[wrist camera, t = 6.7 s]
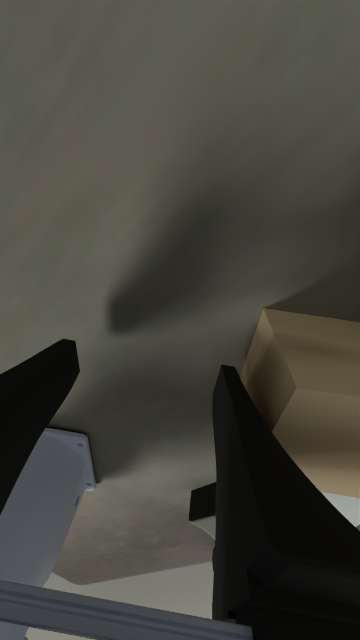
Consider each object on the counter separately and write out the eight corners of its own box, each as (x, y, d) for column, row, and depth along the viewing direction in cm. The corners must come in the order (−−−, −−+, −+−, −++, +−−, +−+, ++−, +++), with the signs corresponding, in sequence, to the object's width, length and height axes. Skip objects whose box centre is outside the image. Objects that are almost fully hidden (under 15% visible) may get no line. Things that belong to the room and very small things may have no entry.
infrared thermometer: (226, 464, 21) (317, 534, 25) (144, 495, 27) (229, 549, 30) (227, 526, 17) (335, 599, 21) (131, 548, 23) (230, 603, 26)
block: (330, 405, 14) (382, 502, 10) (234, 390, 14) (245, 479, 10) (388, 325, 11) (500, 418, 7) (263, 307, 11) (296, 387, 7)
